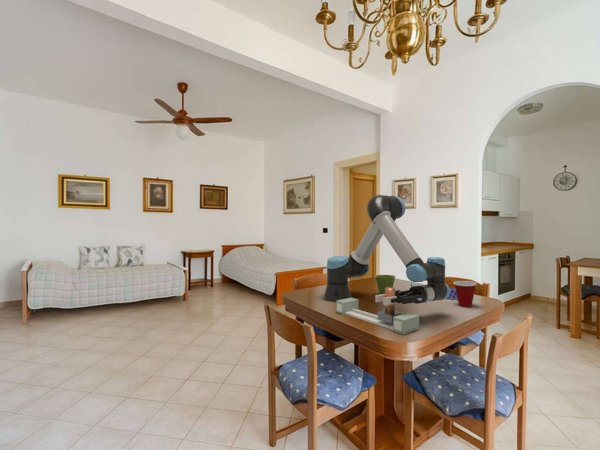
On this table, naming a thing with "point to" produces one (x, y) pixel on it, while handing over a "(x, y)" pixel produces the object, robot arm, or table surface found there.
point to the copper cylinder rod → (388, 307)
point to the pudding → (452, 294)
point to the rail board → (400, 323)
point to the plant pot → (384, 282)
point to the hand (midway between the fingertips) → (379, 300)
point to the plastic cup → (465, 292)
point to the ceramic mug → (416, 284)
